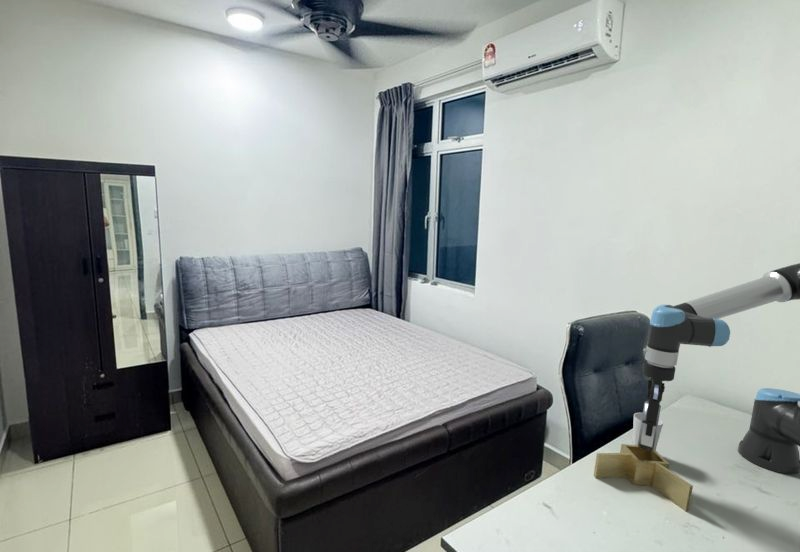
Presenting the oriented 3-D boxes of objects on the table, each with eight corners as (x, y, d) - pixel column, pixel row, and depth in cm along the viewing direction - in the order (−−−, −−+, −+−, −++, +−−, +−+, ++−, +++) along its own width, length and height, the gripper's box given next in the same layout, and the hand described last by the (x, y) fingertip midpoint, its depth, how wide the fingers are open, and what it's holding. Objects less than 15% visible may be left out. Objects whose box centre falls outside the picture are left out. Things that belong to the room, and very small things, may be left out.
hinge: (648, 467, 125) (652, 446, 124) (689, 511, 107) (693, 486, 106) (584, 463, 125) (587, 441, 124) (614, 506, 107) (618, 481, 106)
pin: (648, 443, 121) (655, 401, 119) (656, 451, 117) (664, 407, 115) (634, 442, 121) (641, 400, 119) (642, 450, 117) (649, 406, 115)
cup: (629, 457, 130) (635, 421, 128) (626, 444, 138) (632, 410, 136) (659, 464, 127) (665, 427, 126) (654, 451, 135) (660, 416, 133)
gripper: (644, 352, 125) (633, 425, 128) (643, 368, 110) (630, 450, 114) (674, 358, 121) (661, 433, 124) (677, 375, 106) (662, 460, 110)
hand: (646, 441), depth 119 cm, fingers closed on pin, 4 cm apart
